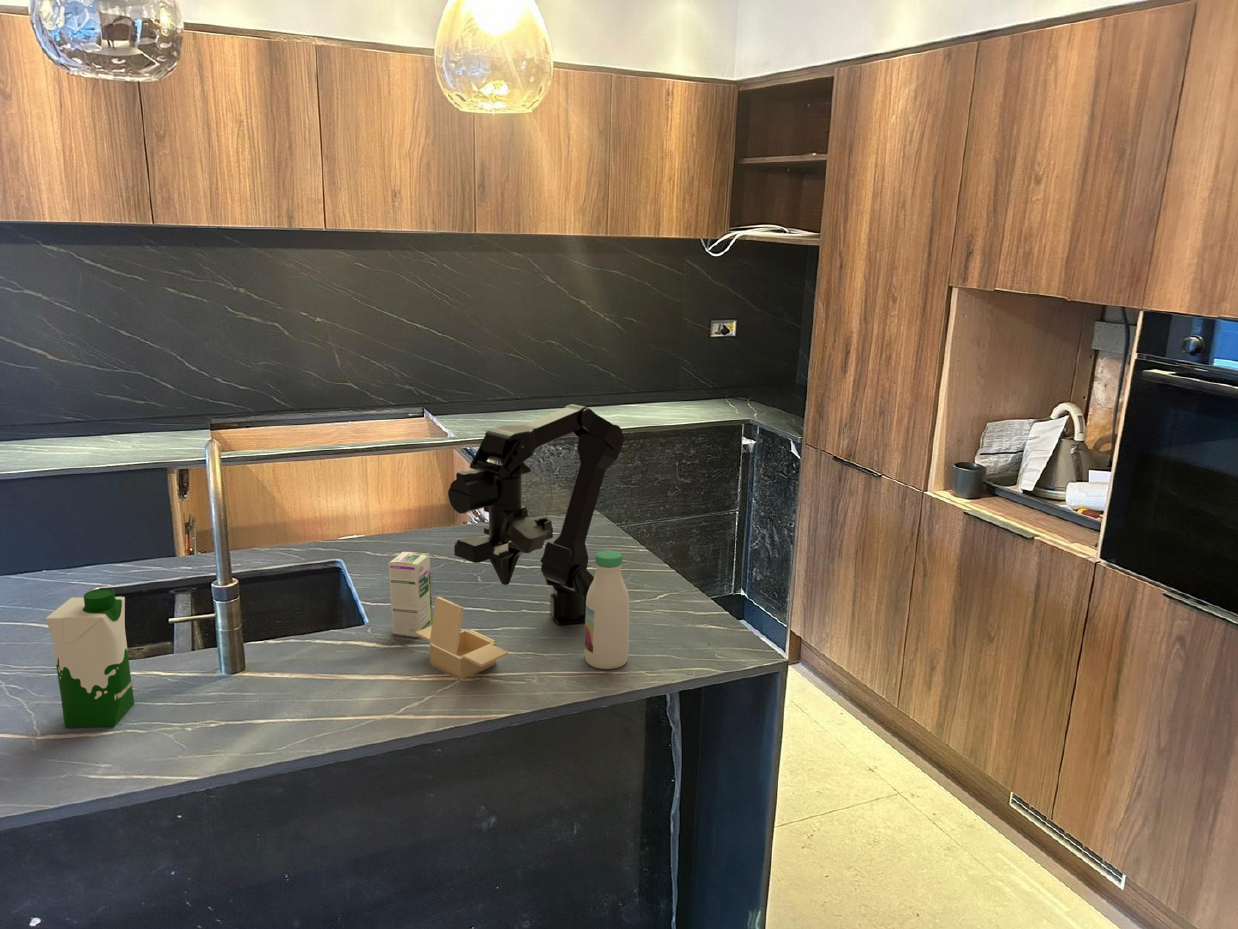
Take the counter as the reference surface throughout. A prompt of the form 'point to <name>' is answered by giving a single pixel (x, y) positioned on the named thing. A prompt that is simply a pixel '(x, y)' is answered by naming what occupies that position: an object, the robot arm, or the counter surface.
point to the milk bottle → (607, 614)
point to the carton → (464, 654)
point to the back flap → (446, 625)
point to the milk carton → (92, 659)
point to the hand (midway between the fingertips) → (505, 584)
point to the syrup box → (410, 593)
